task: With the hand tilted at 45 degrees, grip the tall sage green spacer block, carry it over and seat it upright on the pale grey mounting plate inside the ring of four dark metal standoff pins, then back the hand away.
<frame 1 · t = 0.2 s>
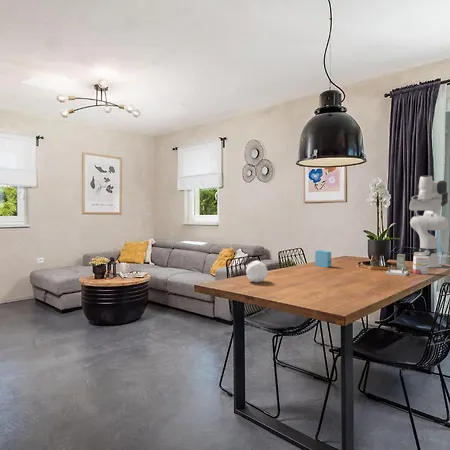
hand: (424, 216, 265), 39 cm above the table, tool pointing down, fingers open, 8 cm apart
geodesic sphere: (256, 282, 229), on the table
ink cartridge box: (420, 273, 256), on the table
standoff pins: (397, 269, 255), on the mounting plate, point 2 cm above the table
mounting plate: (397, 273, 255), on the table
data package: (323, 266, 286), on the table
sage spacer block: (400, 271, 265), on the table
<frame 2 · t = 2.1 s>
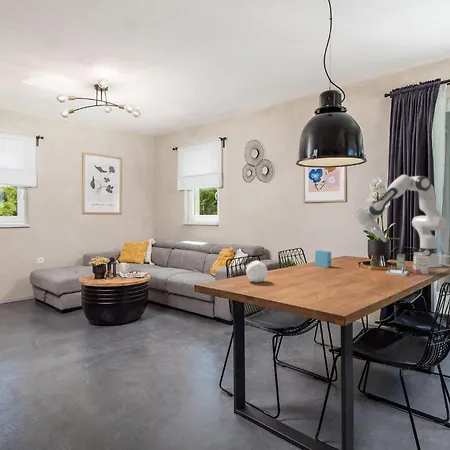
hand: (386, 241, 269), 21 cm above the table, tool tilted 45°, fingers open, 8 cm apart
nothing on the table moved.
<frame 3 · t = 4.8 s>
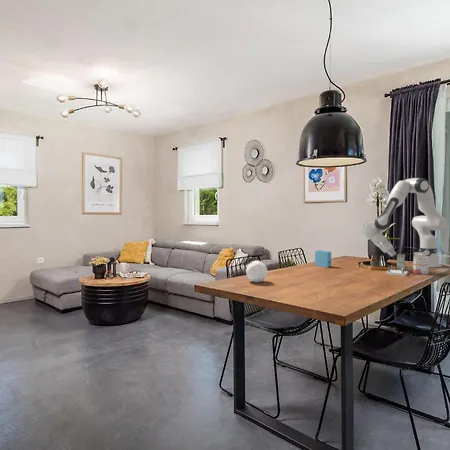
hand: (394, 255, 267), 11 cm above the table, tool tilted 45°, fingers open, 8 cm apart
nothing on the table moved.
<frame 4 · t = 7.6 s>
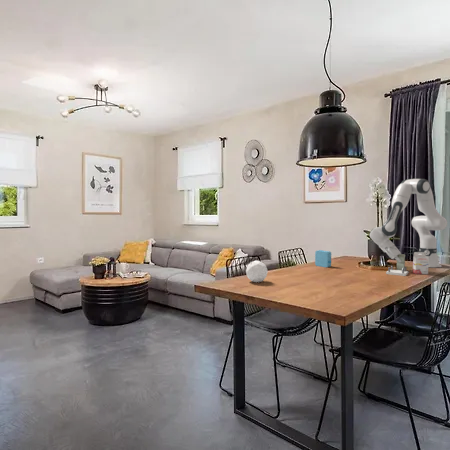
hand: (401, 261, 264), 7 cm above the table, tool tilted 45°, fingers closed on sage spacer block, 4 cm apart
sage spacer block: (400, 271, 265), on the table, touching gripper
everything else where it was.
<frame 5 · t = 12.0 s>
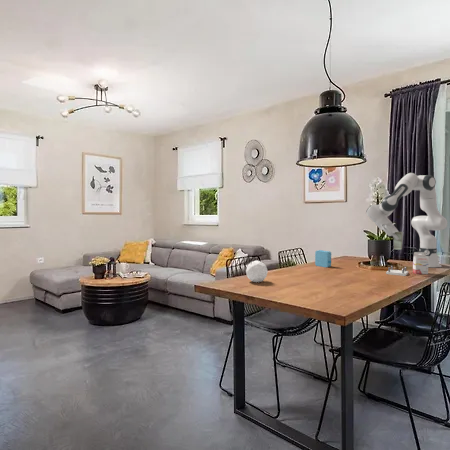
hand: (399, 238, 255), 24 cm above the table, tool tilted 45°, fingers closed on sage spacer block, 4 cm apart
sage spacer block: (397, 249, 256), point 17 cm above the table, touching gripper
everything else where it was.
when the fingers open (10 cm above the table, at t = 16.3 s): sage spacer block drops 1 cm, resting on mounting plate.
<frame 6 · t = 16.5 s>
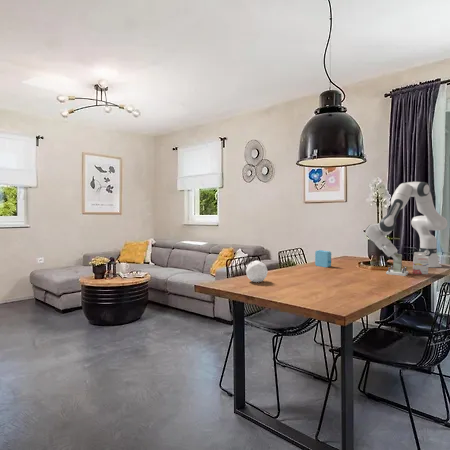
hand: (398, 259, 254), 10 cm above the table, tool tilted 45°, fingers open, 7 cm apart
sage spacer block: (397, 271, 255), point 1 cm above the table, touching mounting plate
everything else where it was.
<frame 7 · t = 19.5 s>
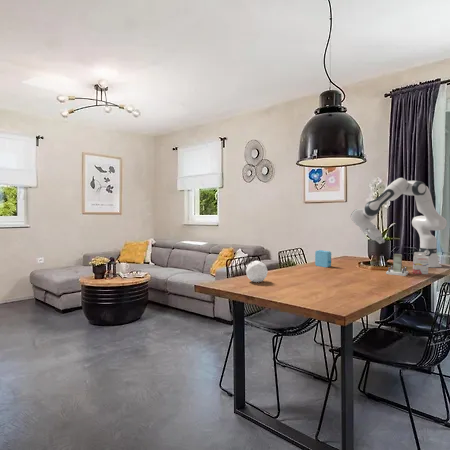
hand: (382, 242, 260), 21 cm above the table, tool tilted 45°, fingers open, 8 cm apart
nothing on the table moved.
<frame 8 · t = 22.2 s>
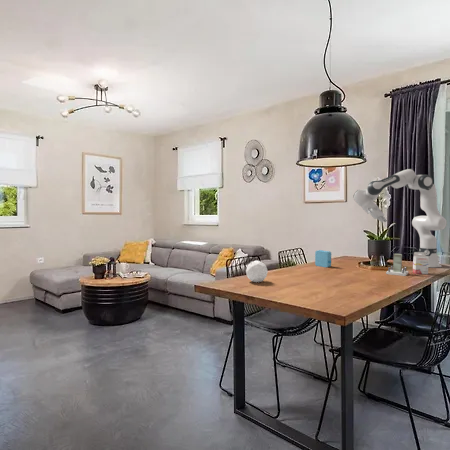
hand: (384, 221, 265), 35 cm above the table, tool tilted 45°, fingers open, 8 cm apart
nothing on the table moved.
at the end: sage spacer block 0.1 cm off-centre on the mounting plate, point 1.5 cm above the mounting plate's base; sage spacer block tilted 0°; the gripper is holding nothing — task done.
